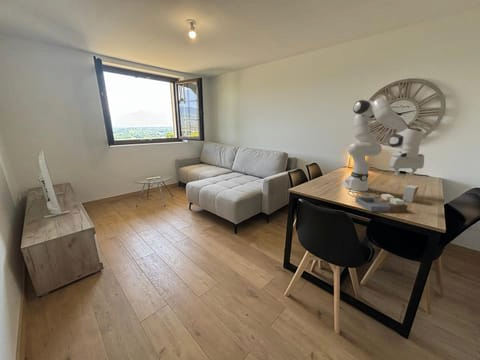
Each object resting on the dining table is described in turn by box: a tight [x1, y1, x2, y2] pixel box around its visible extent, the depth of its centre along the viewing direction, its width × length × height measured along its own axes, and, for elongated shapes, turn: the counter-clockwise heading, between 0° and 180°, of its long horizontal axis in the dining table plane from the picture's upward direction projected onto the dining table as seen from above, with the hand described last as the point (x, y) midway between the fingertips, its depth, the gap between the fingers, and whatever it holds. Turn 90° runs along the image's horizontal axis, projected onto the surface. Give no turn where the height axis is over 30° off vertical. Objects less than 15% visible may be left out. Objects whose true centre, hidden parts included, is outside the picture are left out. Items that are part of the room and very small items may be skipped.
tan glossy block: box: [374, 196, 409, 213], centre depth 130 cm, size 16×10×4 cm, turn 1°
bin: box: [354, 196, 391, 213], centre depth 130 cm, size 16×12×4 cm
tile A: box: [380, 193, 395, 200], centre depth 133 cm, size 5×5×2 cm
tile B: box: [390, 197, 405, 205], centre depth 126 cm, size 5×5×2 cm
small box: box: [401, 184, 419, 203], centre depth 142 cm, size 8×6×10 cm
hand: (404, 175), depth 129 cm, fingers open, 8 cm apart
